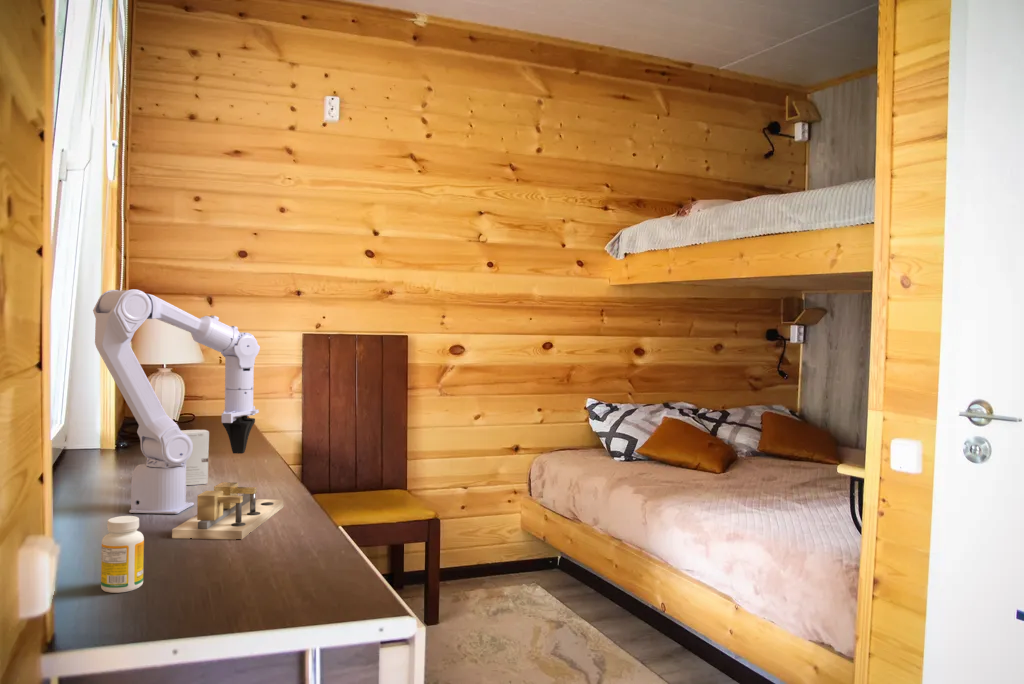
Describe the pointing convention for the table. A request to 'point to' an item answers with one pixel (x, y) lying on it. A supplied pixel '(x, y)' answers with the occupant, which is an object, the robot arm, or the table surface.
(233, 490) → the tan block with post
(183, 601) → the table surface
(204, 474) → the skincare box
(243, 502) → the board
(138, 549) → the supplement bottle
